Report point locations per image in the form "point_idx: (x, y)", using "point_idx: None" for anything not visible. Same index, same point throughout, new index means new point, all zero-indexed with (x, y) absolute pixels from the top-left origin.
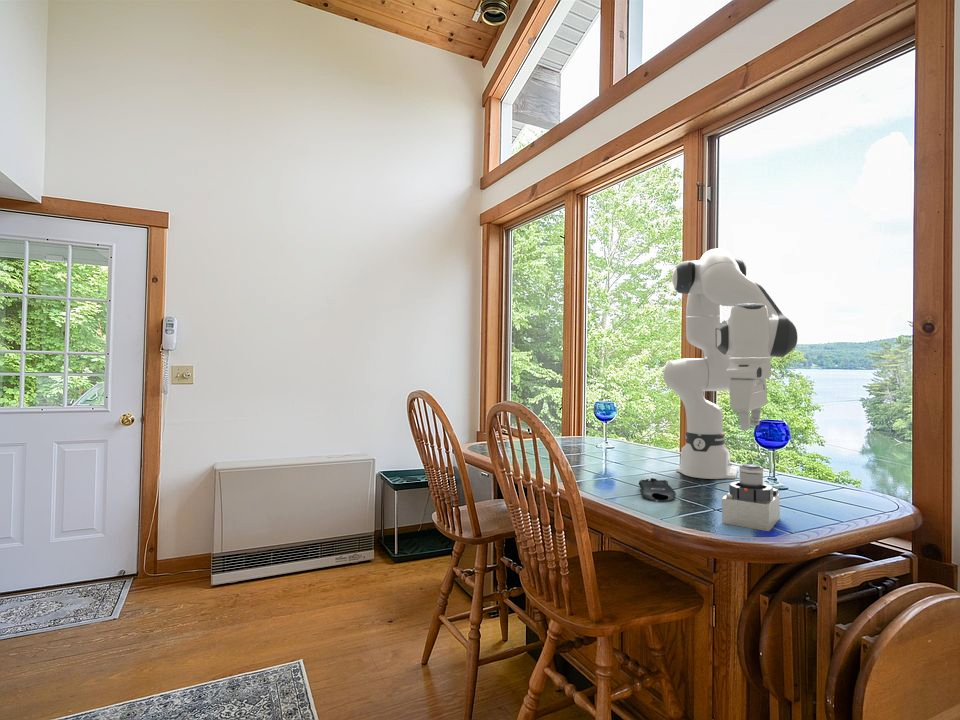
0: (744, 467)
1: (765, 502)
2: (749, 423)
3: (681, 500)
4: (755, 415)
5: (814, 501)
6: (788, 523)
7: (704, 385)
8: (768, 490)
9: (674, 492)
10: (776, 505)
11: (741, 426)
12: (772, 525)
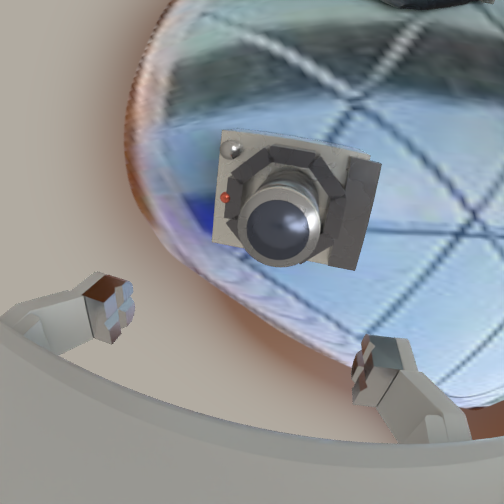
0: (249, 208)
1: (232, 235)
2: (99, 334)
3: (401, 24)
4: (397, 406)
5: (487, 306)
6: None
7: None
8: None
9: (411, 4)
10: None
11: (88, 282)
12: None
